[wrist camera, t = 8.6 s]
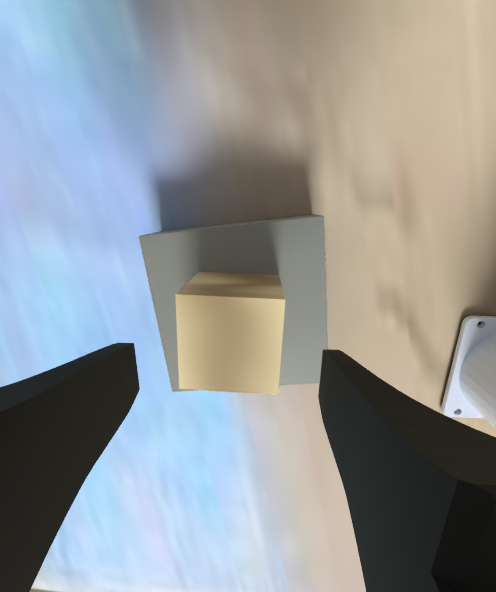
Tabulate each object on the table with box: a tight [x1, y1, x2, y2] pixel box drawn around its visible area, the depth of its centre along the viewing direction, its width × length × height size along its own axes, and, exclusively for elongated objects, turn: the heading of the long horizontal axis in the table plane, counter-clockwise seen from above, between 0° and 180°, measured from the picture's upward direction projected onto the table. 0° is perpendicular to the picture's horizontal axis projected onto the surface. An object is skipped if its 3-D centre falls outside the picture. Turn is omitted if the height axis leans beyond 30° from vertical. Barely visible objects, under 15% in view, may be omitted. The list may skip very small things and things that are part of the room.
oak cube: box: [175, 272, 285, 395], centre depth 14 cm, size 4×4×4 cm
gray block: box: [139, 215, 328, 392], centre depth 18 cm, size 10×10×4 cm
